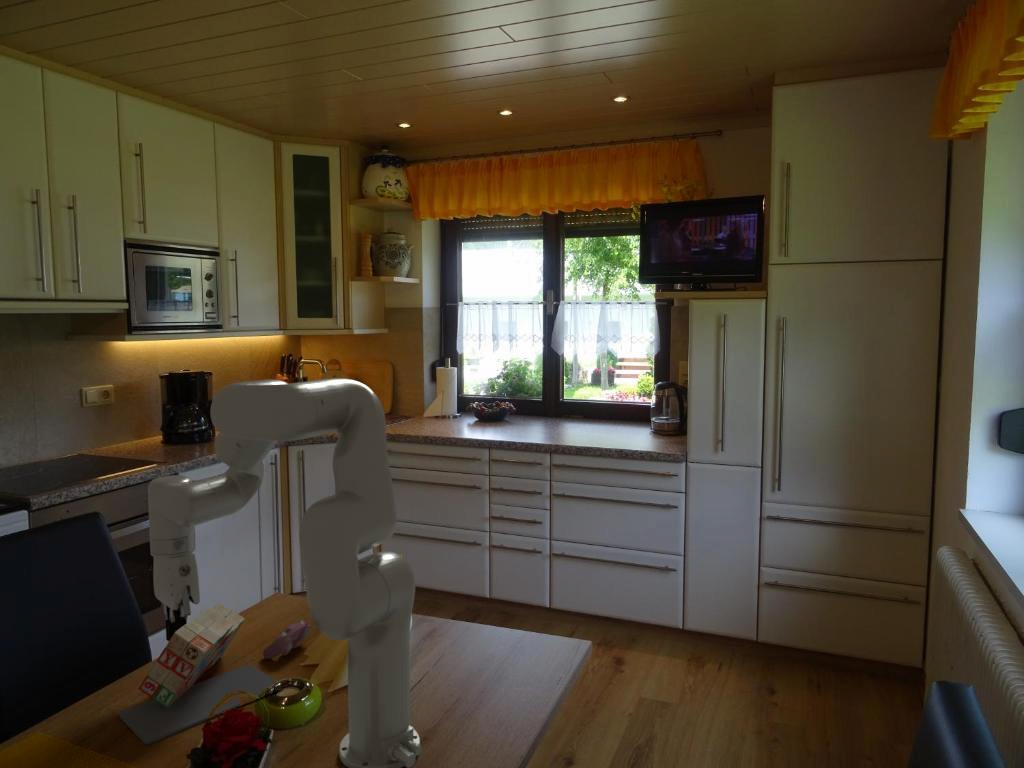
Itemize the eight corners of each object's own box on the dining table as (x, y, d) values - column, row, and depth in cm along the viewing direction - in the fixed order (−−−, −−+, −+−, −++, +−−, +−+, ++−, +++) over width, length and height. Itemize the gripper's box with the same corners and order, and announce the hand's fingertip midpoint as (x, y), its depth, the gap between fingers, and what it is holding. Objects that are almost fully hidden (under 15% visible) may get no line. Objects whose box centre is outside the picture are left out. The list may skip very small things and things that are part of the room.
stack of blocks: (195, 639, 146) (228, 589, 145) (221, 656, 146) (254, 606, 145) (137, 689, 124) (174, 631, 124) (167, 709, 124) (205, 651, 124)
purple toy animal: (276, 670, 143) (289, 642, 142) (259, 656, 145) (271, 629, 143) (306, 648, 153) (318, 622, 151) (290, 636, 154) (302, 610, 152)
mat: (283, 689, 133) (283, 686, 133) (146, 745, 116) (145, 742, 116) (250, 666, 142) (250, 663, 142) (118, 715, 124) (117, 712, 124)
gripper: (211, 548, 131) (214, 645, 133) (177, 530, 141) (180, 621, 143) (168, 558, 126) (172, 659, 127) (136, 539, 136) (140, 633, 138)
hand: (176, 639), depth 135 cm, fingers closed
